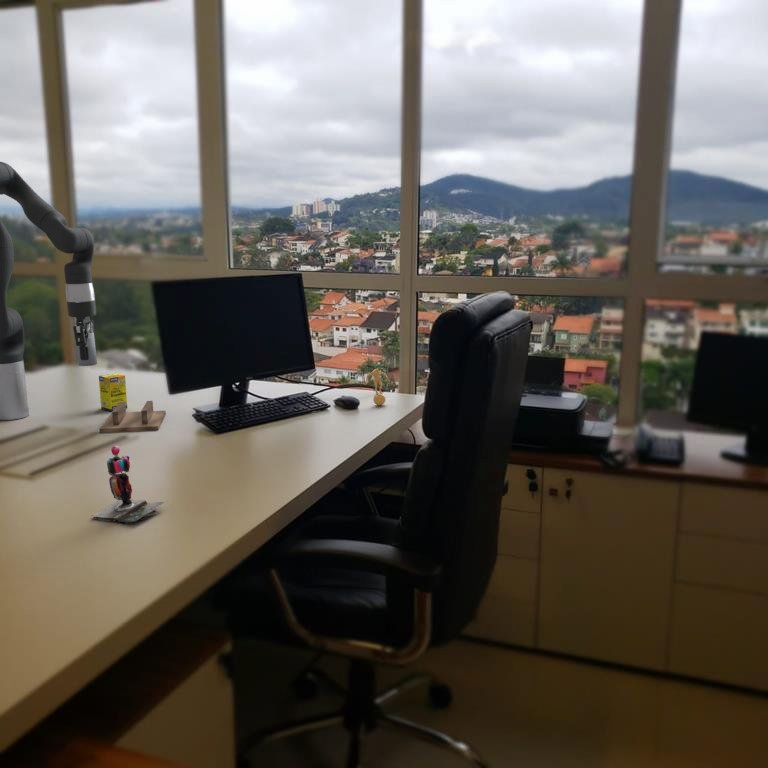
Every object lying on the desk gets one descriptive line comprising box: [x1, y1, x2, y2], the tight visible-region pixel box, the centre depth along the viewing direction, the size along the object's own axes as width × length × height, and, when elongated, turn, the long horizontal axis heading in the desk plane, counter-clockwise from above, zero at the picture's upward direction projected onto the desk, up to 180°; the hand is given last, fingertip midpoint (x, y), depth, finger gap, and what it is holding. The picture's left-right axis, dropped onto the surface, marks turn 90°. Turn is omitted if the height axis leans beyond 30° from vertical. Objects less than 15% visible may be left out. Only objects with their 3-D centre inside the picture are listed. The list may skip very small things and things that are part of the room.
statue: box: [90, 445, 165, 525], centre depth 149 cm, size 11×9×15 cm
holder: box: [99, 400, 167, 434], centre depth 218 cm, size 16×18×5 cm
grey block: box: [76, 332, 98, 367], centre depth 212 cm, size 5×5×9 cm
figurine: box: [365, 367, 391, 406], centre depth 239 cm, size 8×6×12 cm
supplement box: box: [98, 372, 128, 413], centre depth 234 cm, size 6×6×11 cm
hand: (87, 357), depth 213 cm, fingers closed on grey block, 5 cm apart
